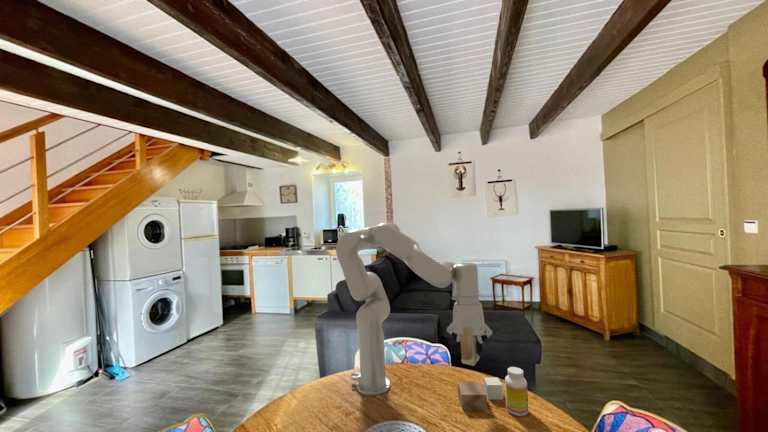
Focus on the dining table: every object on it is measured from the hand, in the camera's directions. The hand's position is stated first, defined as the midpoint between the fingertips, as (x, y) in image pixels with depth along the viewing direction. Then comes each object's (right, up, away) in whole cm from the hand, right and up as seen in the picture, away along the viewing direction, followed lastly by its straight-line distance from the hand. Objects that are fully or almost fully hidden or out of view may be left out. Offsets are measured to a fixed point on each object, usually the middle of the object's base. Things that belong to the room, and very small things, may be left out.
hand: (470, 352), depth 104 cm
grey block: (+9, -17, +3) cm, 19 cm away
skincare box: (0, -3, 0) cm, 3 cm away
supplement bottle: (+14, -16, -5) cm, 22 cm away
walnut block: (+1, -17, 0) cm, 17 cm away
